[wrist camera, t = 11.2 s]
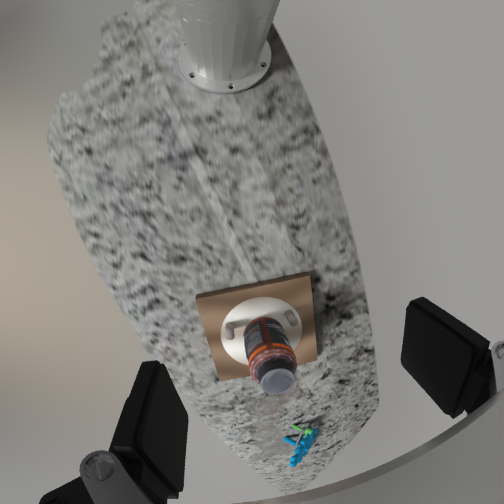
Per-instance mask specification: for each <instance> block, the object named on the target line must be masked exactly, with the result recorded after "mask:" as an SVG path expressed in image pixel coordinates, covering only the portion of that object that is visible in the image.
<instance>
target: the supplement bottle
mask: <svg viewBox="0 0 504 504" xmlns="http://www.w3.org/2000/svg"><path fill="white" fill-rule="evenodd" d="M243 340H244V346H245V352H246V358H247V363H248V369H249V373H250V376H251V377H252V379H253V380H254V381H255V382H257V383H258V384H260V386H261V388H262V390H263V391H265V392H266V393H269V394H280V393H284V392H286V391H287V390H289V389H290V388H291V387H292V386H293V384H294V382H295V376H294V373H295V371H296V369H297V359H296V356H295V354H294V351H293V349H292V347H291V345H290V343H289V340H288V338H287V336H286V334H285V331H284V329H283V327H282V325H281V324H280V323H279V322H278V321H277V320H275V319H273V318H271V317H260V318H256V319H254V320H253V321H251V322H250V323H249V324H248V325H247V326H246V328H245V330H244V333H243Z"/></svg>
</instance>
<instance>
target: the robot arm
mask: <svg viewBox="0 0 504 504" xmlns="http://www.w3.org/2000/svg"><path fill="white" fill-rule="evenodd" d="M279 2H280V0H175V3H176V7H177V11H178V15H179V19H180V23H181V27H182V31H183V35H184V38H185V40H184V41H183V43H182V45H181V47H180V50H179V54H178V62H179V66H180V69H181V71H182V74H183V75H184V77H185V78H186V79H187V80H188V81H189V82H190V83H191V84H192V85H194V86H195V87H197V88H199V89H201V90H203V91H206V92H210V93H215V94H231V93H237V92H240V91H244V90H246V89H248V88H250V87H252V86H253V85H255V84H256V83H258V82H259V81H260V80H261V79H262V78H263V77H264V75H265V74H266V72H267V70H268V68H269V66H270V62H271V49H270V45H269V43H268V41H267V36H268V33H269V30H270V27H271V24H272V21H273V18H274V16H275V13H276V10H277V7H278V5H279ZM261 66H264V67H261ZM192 76H194V78H191V77H192ZM230 87H233V89H230ZM489 344H490V341H488V340H487V339H486V338H484V337H483V336H481V335H480V334H478V333H477V332H476V331H474V330H473V329H471V328H470V327H468V326H467V325H465V324H464V323H462V322H461V321H460V320H458V319H456V318H455V317H454V316H452V315H451V314H449V313H447V312H446V311H445V310H443V309H441V308H440V307H438V306H437V305H435V304H434V303H432V302H431V301H429V300H428V299H426V298H424V297H420V298H417V299H415V300H412V301H410V303H409V305H408V306H407V308H406V319H405V328H404V337H403V345H402V352H401V364H402V366H403V367H404V368H405V369H406V370H407V371H408V373H409V374H410V375H411V376H412V377H413V378H414V379H415V380H416V381H417V382H418V384H419V385H420V386H421V387H422V388H423V389H424V390H425V391H426V393H427V394H428V395H429V396H430V397H431V398H432V399H433V400H434V402H435V403H436V404H437V405H438V406H439V407H440V409H441V410H442V411H443V412H444V413H445V414H447V415H450V416H451V417H452V418H453V419H454V418H456V417H457V416H459V415H460V414H462V413H463V411H464V410H465V411H466V412H467V417H465V418H464V419H463V420H461V421H460V422H458V423H457V424H455V425H454V426H452V427H451V428H449V429H448V430H447V431H445V432H443V433H441V434H440V435H438V436H437V437H435V438H433V439H432V440H430V441H428V442H426V443H425V444H423V445H421V446H419V447H417V448H416V449H414V450H412V451H410V452H408V453H406V454H404V455H402V456H400V457H398V458H396V459H394V460H392V461H389V462H387V463H385V464H383V465H381V466H378V467H376V468H374V469H371V470H369V471H366V472H364V473H361V474H359V475H356V476H353V477H351V478H348V479H345V480H342V481H339V482H336V483H332V484H329V485H326V486H323V487H319V488H315V489H312V490H308V491H304V492H300V493H296V494H291V495H287V496H282V497H277V498H271V499H266V500H259V501H252V502H244V503H235V504H504V341H499V342H497V343H495V344H494V345H493V347H492V349H491V350H490V349H488V347H489ZM187 432H188V414H187V411H186V410H185V408H184V405H183V403H182V401H181V399H180V397H179V395H178V393H177V391H176V389H175V387H174V384H173V382H172V380H171V378H170V376H169V373H168V371H167V369H166V366H165V365H164V364H160V362H159V361H157V360H155V361H146V362H142V364H141V366H140V369H139V371H138V374H137V377H136V380H135V382H134V385H133V387H132V390H131V393H130V395H129V397H128V398H127V400H126V402H125V404H124V407H123V410H122V413H121V415H120V418H119V421H118V424H117V427H116V430H115V433H114V436H113V439H112V442H111V445H110V448H109V451H104V450H100V451H95V452H92V453H90V454H88V455H87V456H86V457H85V458H84V459H83V460H82V462H81V464H80V470H79V471H80V475H81V476H80V477H78V478H76V479H74V480H72V481H71V482H69V483H67V484H65V485H63V486H61V487H59V488H57V489H55V490H53V491H51V492H49V493H47V494H46V495H44V496H43V497H42V498H41V500H40V502H39V504H167V499H178V497H179V492H182V491H183V487H184V470H185V455H186V443H187Z"/></svg>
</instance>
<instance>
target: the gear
mask: <svg viewBox="0 0 504 504" xmlns="http://www.w3.org/2000/svg"><path fill="white" fill-rule="evenodd" d="M292 427H293V428H295V429H297V430H299V431H301V432H300V435H299V437H298V440H297V442H296V441H294V440H292V439H290V438H288V437H285V438H284V441H286V442H288V443H290V444H292V445H294V446H295V448H296V449H295V451H294V452H295V453H296V454H295V456H292V457H291V459H290V461H291V462H290V463H289V465H290V466H292V467H293V466H296V465H297V463H300V462H301V460H302V458H303V456H304V457H305V455H306V454H307V453H308V452H307V451H308V450H309V448H311V447H312V445H313V443H312V441H313V440H315V439H316V437H317V436H316V434H317V433H318V430H317V429H315V428H313V429H310V428H308V427H307V428H306V427H303V428H301V427H299V426H296V425H294V424H293V425H292ZM304 434H305V436H306V438H303V436H304ZM302 438H303V439H302Z"/></svg>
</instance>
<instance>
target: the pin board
mask: <svg viewBox="0 0 504 504" xmlns="http://www.w3.org/2000/svg"><path fill="white" fill-rule="evenodd" d="M196 303H197V306H198V310H199V314H200V317H201V320H202V324H203V327H204V331H205V334H206V337H207V341H208V344H209V347H210V350H211V353H212V357H213V360H214V363H215V366H216V369H217V372H218V375H219V378H220V381H223V380H229V379H235V378H241V377H246V376H250V373H249V369H248V363H247V358H246V352H245V346H244V340H243V333H244V330H245V328H246V326H247V325H248V324H249V323H250V322H251V321H253V320H254V319H256V318H260V317H271V318H273V319H275V320H277V321H278V322H279V323H280V324H281V325H282V327H283V329H284V331H285V334H286V336H287V338H288V340H289V343H290V345H291V347H292V349H293V351H294V354H295V356H296V359H297V365H300V364H304V363H308V362H312V361H316V360H317V346H316V333H315V321H314V310H313V299H312V290H311V280H310V275H309V274H308V273H307V272H306V273H301V274H297V275H292V276H287V277H283V278H278V279H273V280H269V281H264V282H259V283H254V284H249V285H244V286H239V287H234V288H229V289H224V290H219V291H214V292H209V293H203V294H198V295H196Z"/></svg>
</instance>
